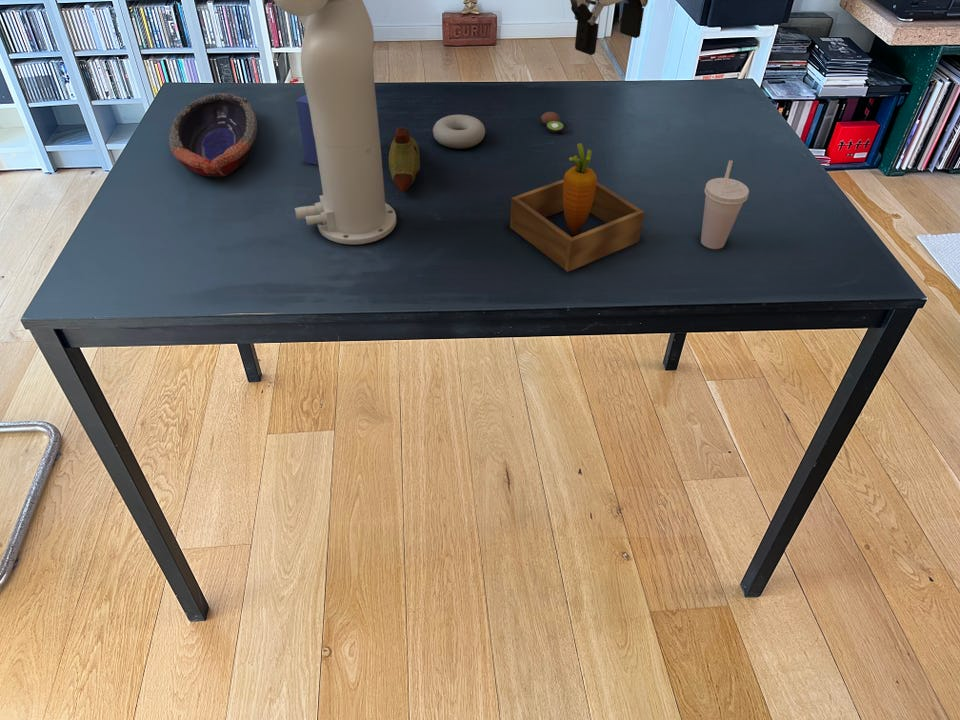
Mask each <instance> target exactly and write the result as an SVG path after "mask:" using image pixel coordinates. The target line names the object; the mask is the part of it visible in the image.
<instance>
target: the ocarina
mask: <svg viewBox="0 0 960 720" xmlns="http://www.w3.org/2000/svg"><path fill="white" fill-rule="evenodd" d="M388 168H389V172H390V177H391V179H392V182H393V183H394V185H395V186H396V188H397V189H398V190H399V191H400V192H402V193H404V192H406V191H407V190H408V189H409V188H410V187H411V186H412V185H413V183H414V182H415V181H416V179H417V178H418V175H419V173H420V169H421V158H420V148H419V145H418V143H417V141H416V140H415V139H414V138H413V137H412V136H411V135H410V133H409V130H408V129H407V128H406V127H404V126H399V127H397V128H396V130H395V133H394V138H393V140H392V142H391V144H390V148H389V153H388Z"/></svg>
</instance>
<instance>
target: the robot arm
mask: <svg viewBox="0 0 960 720" xmlns="http://www.w3.org/2000/svg"><path fill="white" fill-rule="evenodd" d="M272 1H273V2H274V4H276V6H278V7H279V8H280V9H281V10H282V11H284V12H286V13H287V14H289V15H291V16H295V17H298V19H299V21H300V23H301V24H302V26H303V28H304V34H303V38H302V39H303V40H302V42H301V49H300V68H301V70H300V71H301V76H302V81H303V86H304V90H305V93H306V94H307V99H308V103H309V109H310V114H311V120H312V127H313V133H314V138H315V144H316V150H317V157H318V164H319V165H318V169H319V175H320V176H319V178H320V182H321V183H320V184H321V189H322V194H321V195H319V201H318V202H314V203H313V204H314V205H308V206H306V205H303V206H299V207H294V212H295V217H296V220H297V221H301V220H305V222H306V225H307V226H312V225H317V229H318V231H319V233H320V234H321V235H322V236H323V237H324V238H326V239H327V240H328V241H329V240H330V241H332V242H334V243H337V244H343V245H354V246H355V245H365V244H370V243H374V242H377V241H379V240H381V239H383V238H385V237H387V236H388V235H390V234H391V233H392V232H393V231H394V229H395V227H396V225H397V214H396V211H395V209H394V207H392V206H391V205H390V204H388V203H386V195H385V183H384V172H383V161H382V147H381V138H380V137H381V136H380V128H379V127H380V126H379V116H378V104H377V95H376V87H375V69H374V68H375V66H374V50H375V49H374V47H375V46H374V42H375V41H374V39H375V37H374V36H375V35H374V27H373V26H374V25H373V23H372V19H371V17H370V15H369V12H368V9H367V7H366V5H365V2H364V1H363V0H272ZM569 1H570V6H571V7H570V9H571V13H573V14H574V19H575V21H576V31H575V42H574V49H575V50H576V51H578V52H580V53H584V54H586V55H589V56H593V55H595V54H596V52H597V51H596V49H597V43H598V35H599V34H598V33H599V23H597V20H598V18H599V16H600V14H601V13H602V11H603V10H604V7H609V6H612V5H615V4H619V3H621V2H624V1H625V0H569ZM626 1H627V2H624V3H623V6H622V12H621V19H620V26H619V33H620V34H622V35H625V36H628V37H631V38H634V39H637V38H640V36H641V31H642V24H643V19H644V18H643V17H644V13H645V12H644V11H645V7H647V5H648V3H649V0H626ZM590 5H592V6H593V7H592V9H591V10H590V9H589V8H590Z"/></svg>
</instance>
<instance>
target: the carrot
mask: <svg viewBox="0 0 960 720" xmlns="http://www.w3.org/2000/svg"><path fill="white" fill-rule="evenodd" d="M576 147H577V151H578V154H579V156H578V155H576V154H575V155H573V156H570V157H568V160H569V162H571V163H573V164H574V166H572V167H570V168H569V169H568V170H567V171H566V172H565V173H564V175H563V179H564V184H563V208H564V211H563V214H564V216H563V217H564V219H565V222H566V225H567V227H568V228H567V229H568V230H569V232H570V234H571V235H573V236H576V235H578V233H579V232H580V231H581V229H582V228H583V227H584V226H585V223H586V222H587V220H588V218H589V216H590V214H591V213H590V210H591V207H592V204H593V200H594V195H595V189H596V183H597V182H598V177H597V174H596V173H595V172H594V170H593V168H590V167H589V164H590V162H591V159H592V154H593V153H592V152H593V151H592V150H591V149H587V151H586V153H585V149H584V145H583V143H581V142H579V143H577V145H576ZM585 154H586V155H585Z"/></svg>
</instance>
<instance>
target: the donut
mask: <svg viewBox="0 0 960 720" xmlns="http://www.w3.org/2000/svg"><path fill="white" fill-rule="evenodd" d="M432 134H433V138H434V139H435V140H436V142H437V143H438V144H439V145H441V146H444V147H446V148H451V149H468V148H472V147H475V146H477V145H478V144H480V143H481V142H482V141H483V140H484V137H485V135H486V128H485V125H484V123H482V121H481V120H479V119H478V118H477V117H475V116H471V115H468V114H452V115H451V114H450V115H446V116H444V117H441V118H440V119H439V120H437V121H436V122H435V124H434V125H433V127H432Z"/></svg>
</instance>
